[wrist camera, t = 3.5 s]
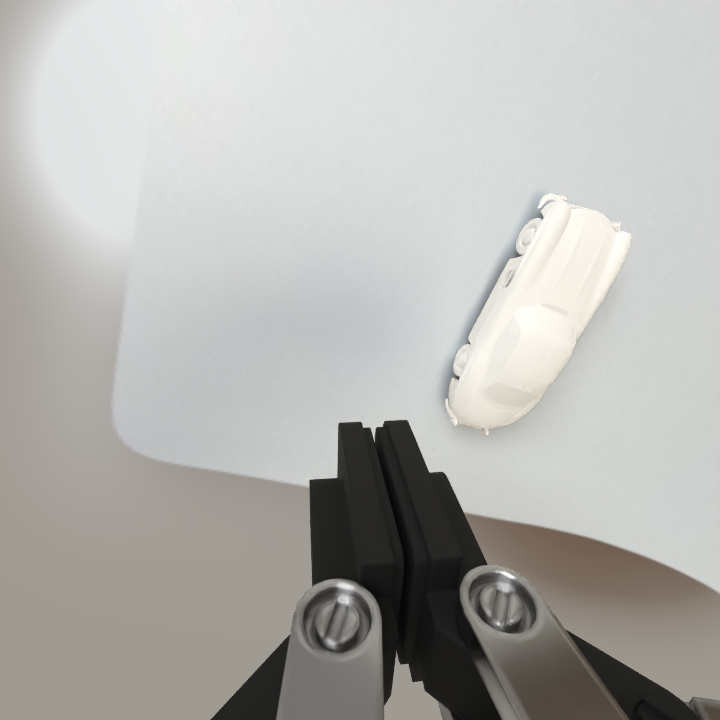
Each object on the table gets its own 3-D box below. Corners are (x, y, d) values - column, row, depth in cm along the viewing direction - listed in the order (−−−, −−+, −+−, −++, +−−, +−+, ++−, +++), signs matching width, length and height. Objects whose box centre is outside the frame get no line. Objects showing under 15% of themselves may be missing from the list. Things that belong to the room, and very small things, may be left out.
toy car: (616, 226, 21) (674, 238, 18) (496, 426, 25) (526, 465, 22) (537, 186, 19) (584, 191, 16) (423, 405, 23) (444, 443, 20)
